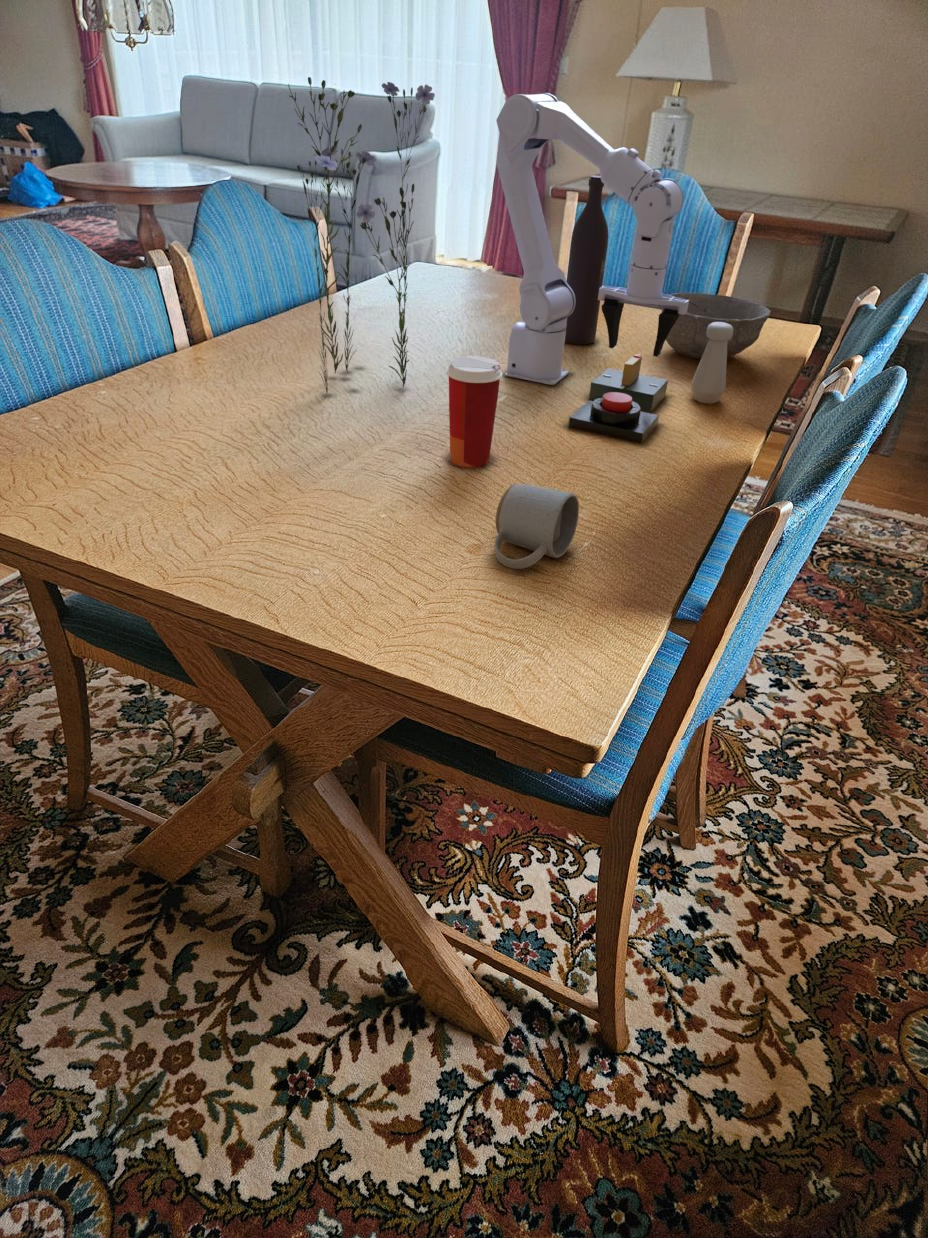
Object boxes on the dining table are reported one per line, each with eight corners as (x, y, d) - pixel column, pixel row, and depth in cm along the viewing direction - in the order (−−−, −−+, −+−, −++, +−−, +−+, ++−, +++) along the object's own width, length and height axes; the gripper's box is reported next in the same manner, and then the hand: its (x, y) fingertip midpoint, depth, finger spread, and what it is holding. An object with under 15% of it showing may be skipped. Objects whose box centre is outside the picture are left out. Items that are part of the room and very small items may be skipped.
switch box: (568, 427, 136) (570, 406, 134) (587, 410, 143) (589, 389, 141) (641, 443, 132) (645, 422, 130) (657, 425, 139) (661, 404, 137)
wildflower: (278, 397, 141) (254, 73, 116) (329, 356, 159) (317, 68, 134) (410, 415, 137) (414, 84, 112) (446, 371, 156) (456, 78, 130)
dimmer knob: (629, 385, 145) (632, 363, 143) (621, 384, 145) (624, 361, 143) (638, 376, 149) (642, 354, 147) (631, 375, 149) (634, 353, 147)
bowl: (770, 354, 174) (783, 303, 168) (739, 380, 159) (752, 326, 153) (673, 334, 182) (682, 285, 177) (635, 357, 168) (644, 305, 162)
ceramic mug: (517, 523, 108) (521, 468, 104) (576, 541, 105) (584, 485, 101) (476, 560, 101) (479, 502, 96) (539, 581, 98) (546, 521, 93)
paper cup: (502, 454, 126) (510, 359, 118) (486, 474, 120) (493, 376, 112) (452, 444, 128) (456, 351, 120) (434, 464, 122) (437, 367, 114)
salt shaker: (722, 407, 147) (740, 330, 140) (689, 403, 148) (704, 326, 141) (721, 395, 152) (738, 320, 145) (688, 392, 153) (703, 317, 145)
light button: (597, 409, 135) (599, 398, 134) (606, 400, 138) (608, 389, 137) (625, 415, 133) (627, 404, 132) (634, 406, 137) (636, 395, 136)
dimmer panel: (588, 399, 147) (590, 381, 145) (606, 383, 154) (608, 366, 152) (650, 413, 143) (653, 394, 141) (665, 395, 150) (669, 378, 149)
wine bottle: (596, 346, 173) (618, 180, 156) (561, 344, 172) (580, 178, 156) (592, 335, 178) (613, 174, 161) (558, 334, 178) (576, 172, 161)
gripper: (699, 267, 137) (682, 352, 145) (612, 253, 142) (601, 336, 150) (688, 275, 132) (672, 363, 139) (599, 261, 136) (587, 347, 144)
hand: (634, 350), depth 144 cm, fingers open, 7 cm apart
